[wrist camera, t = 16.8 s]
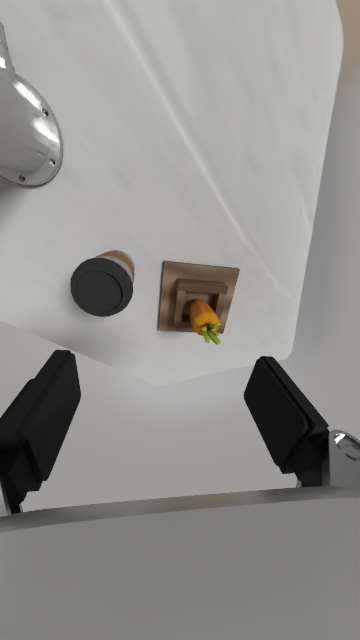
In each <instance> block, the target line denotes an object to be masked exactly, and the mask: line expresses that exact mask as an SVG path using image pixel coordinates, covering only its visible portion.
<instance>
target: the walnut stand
mask: <svg viewBox="0 0 360 640" xmlns="http://www.w3.org/2000/svg"><path fill="white" fill-rule="evenodd" d="M239 271H240V269H238V268H229V267H220V266H210V265H200V264H190V263H181V262H171V261H164V267H163V279H162V291H161V303H160V315H159V327H158V330H159V331H179V332H196V331H195V330H194V329H193V328H192V324H191V320H190V308H191V303H192V302H193V301H194V300H195V299H200V300H203V301H205V302H206V303H207V304H208V305H209V306H210V307H211V309H212V310H213V311H214V312H215V314H216V315H217V317H218V318H219V323H220V324H221V325H219V326H218V329H217V330H216V332H217V333H221V334H223V331H224V328H225V324H226V320H227V316H228V312H229V309H230V305H231V301H232V297H233V294H234V290H235V286H236V282H237V278H238V275H239Z"/></svg>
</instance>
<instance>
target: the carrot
mask: <svg viewBox="0 0 360 640" xmlns="http://www.w3.org/2000/svg"><path fill="white" fill-rule="evenodd" d="M190 320H191V324H192V328H193V329H194V330H195V331H196V332H197V333H198V334H199V335H204V338H205V341H206V342H210V341H209V338H208V336H209V337H210V339H211V340H212V341H213V342H214V343H215V344H220V342H221V341H220V340H219V339H218V338H217V337H216V336H218V335H219V333H217V332H216V330H217V329H218V326H219V325H221V324H220V323H219V318H218V317H217V315H216V314H215V312H214V311H213V310H212V309H211V307H210V306H209V305H208V304H207V303H206V302H205V301H203V300H200V299H195V300H194V301H193V302H192V303H191V308H190ZM213 334H214V335H213Z"/></svg>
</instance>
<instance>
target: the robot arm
mask: <svg viewBox="0 0 360 640" xmlns="http://www.w3.org/2000/svg"><path fill="white" fill-rule="evenodd" d="M7 50H8V47H7V42H6V37H5V31H4V26H3V24H2V23H1V22H0V175H1V176H2V177H4V178H6V179H8V180H10V181H12V182H15V183H19V184H22V185H28V186H37V185H41V184H44V183H46V182H48V181H50V180H51V179H52V178H53V177H54V176H55V175H56V173H57V172H58V170H59V168H60V165H61V162H62V156H63V142H62V136H61V132H60V129H59V126H58V123H57V120H56V118H55V116H54V114H53V112H52V110H51V109H50V107H49V106H48V104H47V103H46V101H45V100H44V98H43V97H42V96H41V95H40V94H39V93H38V92H37V91H36V89H34V88H33V87H32V86H31V85H30V84H29V83H28V82H27V81H26V80H24V79H23V78H22V77H20V76H19V75H17V74H15V69H14V67H13V65H12V64H10V62H9V56H8V51H7ZM47 113H49V114H48V117H47V116H46V114H47ZM54 161H55V165H54V164H53V162H54ZM24 178H25V180H24ZM80 398H81V391H80V385H79V378H78V372H77V366H76V360H75V355H74V354H71V352H70V351H69V350H55V351H54V352H53V354H52V355H51V356H50V358H49V359H48V361H47V362H46V363H45V365H44V366H43V367H42V369H41V370H40V371H39V373H38V374H37V376H36V377H35V378H34V379H31V380H29V381H28V382H27V384H26V385H25V386H24V388H23V389H22V390H21V391H20V393H19V394H18V396H17V397H16V398H15V399H14V401H13V402H12V403H11V405H10V406H9V407H8V409H7V410H6V411H5V413H4V414H3V415H2V417H1V418H0V640H360V441H359V440H358V439H357V438H355V437H354V436H352V435H350V434H349V433H346V432H344V431H341V430H332V431H331V432H330V431H329V430H328V429H327V427H328V426H329V425H328V424H327V422H326V421H325V420H324V419H323V417H322V416H321V415H320V414H319V413H318V412H317V410H316V409H315V408H314V406H313V405H312V404H311V403H310V402H309V400H308V399H307V398H306V397H305V395H304V394H303V393H302V392H301V391H300V389H299V388H298V387H297V386H296V384H295V383H294V382H293V381H292V379H291V378H290V377H289V376H288V375H287V373H286V372H285V371H284V370H283V368H282V367H281V366H280V365H279V363H278V362H277V361H276V360H275V359H274V358H273V357H269V356H261V357H260V358H259V359H257V361H256V364H255V366H254V369H253V371H252V374H251V376H250V379H249V382H248V384H247V387H246V390H245V392H244V400H245V402H246V404H247V406H248V408H249V410H250V412H251V414H252V416H253V419H254V421H255V423H256V425H257V427H258V429H259V431H260V433H261V436H262V438H263V440H264V442H265V444H266V446H267V448H268V450H269V452H270V455H271V457H272V459H273V461H274V463H275V464H276V465H277V466H279V468H280V470H281V472H282V474H287V473H295V475H296V476H297V486H296V488H284V489H272V490H259V491H245V492H232V493H219V494H207V495H195V496H183V497H170V498H158V499H147V500H135V501H124V502H113V503H101V504H90V505H81V506H71V507H62V508H52V509H43V510H35V511H29V512H23V510H22V506H21V502H22V501H24V499H25V497H26V494H27V492H29V491H39V489H40V486H41V484H42V481H46V480H47V479H48V477H49V475H50V473H51V471H52V468H53V466H54V463H55V461H56V458H57V456H58V453H59V451H60V448H61V446H62V443H63V441H64V439H65V436H66V434H67V431H68V429H69V426H70V424H71V421H72V419H73V416H74V414H75V411H76V409H77V406H78V404H79V401H80Z"/></svg>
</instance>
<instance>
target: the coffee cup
mask: <svg viewBox="0 0 360 640" xmlns="http://www.w3.org/2000/svg"><path fill="white" fill-rule="evenodd" d="M133 281H134V264H133V261H132V259H131V258H130V257H129V256H128V255H127V254H126V253H124V252H122V251H119V250H113V251H109V252H106V253H104V254H101V255H99V256H97V257H95V258H92V259H88V260H86V261H84V262H83V263H81V264H80V265H79V266H78V267H77V269H76V270H75V271H74V273H73V275H72V278H71V293H72V296H73V298H74V300H75V302H76V303H77V304H78V306H79V307H80V308H81V309H83V310H84V311H86V312H87V313H89V314H92V315H95V316H100V317H107V316H111V315H114V314H117V313H119V312H120V311H122V310H123V309H124V308H125V307H126V306H127V305H128V303H129V302H130V300H131V298H132V294H133Z"/></svg>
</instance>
